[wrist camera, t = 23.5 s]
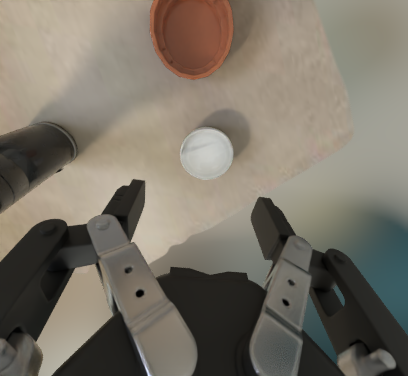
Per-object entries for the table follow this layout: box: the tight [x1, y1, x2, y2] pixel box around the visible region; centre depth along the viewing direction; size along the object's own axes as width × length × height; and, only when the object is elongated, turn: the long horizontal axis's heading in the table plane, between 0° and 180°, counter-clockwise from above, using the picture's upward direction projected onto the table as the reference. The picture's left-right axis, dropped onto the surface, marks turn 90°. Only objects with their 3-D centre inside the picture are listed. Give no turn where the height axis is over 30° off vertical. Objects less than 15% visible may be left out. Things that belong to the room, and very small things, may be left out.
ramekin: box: [180, 127, 234, 180], centre depth 40 cm, size 11×11×5 cm
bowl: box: [150, 0, 234, 80], centre depth 29 cm, size 12×12×5 cm
